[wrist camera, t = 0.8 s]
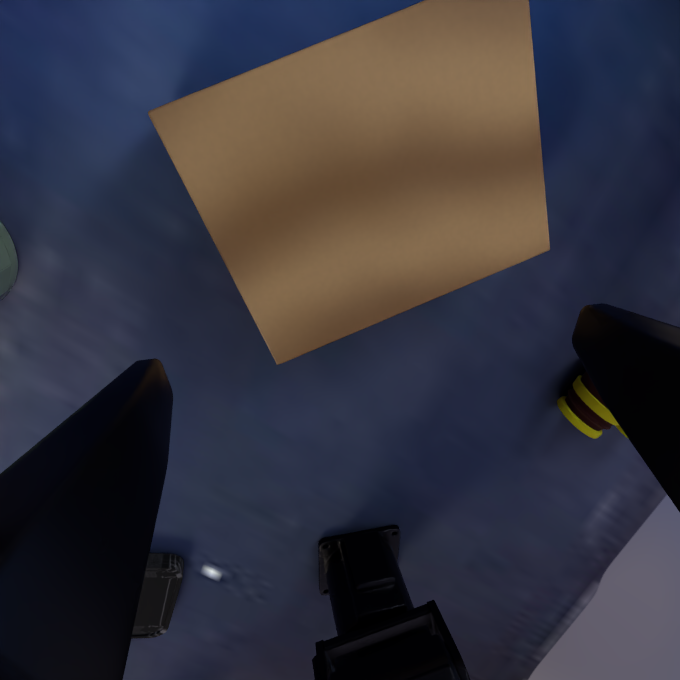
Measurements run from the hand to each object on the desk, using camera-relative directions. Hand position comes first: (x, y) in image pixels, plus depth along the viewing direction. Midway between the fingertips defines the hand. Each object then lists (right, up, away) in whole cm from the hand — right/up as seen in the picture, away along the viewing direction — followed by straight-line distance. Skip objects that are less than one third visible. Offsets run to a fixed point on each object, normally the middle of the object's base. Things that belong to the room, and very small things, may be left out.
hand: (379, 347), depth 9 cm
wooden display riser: (0, +8, +12) cm, 15 cm away
